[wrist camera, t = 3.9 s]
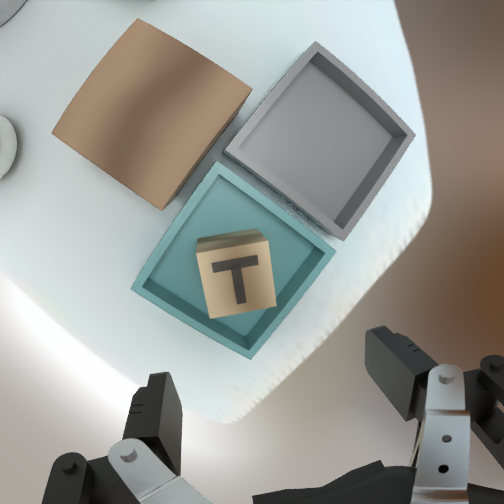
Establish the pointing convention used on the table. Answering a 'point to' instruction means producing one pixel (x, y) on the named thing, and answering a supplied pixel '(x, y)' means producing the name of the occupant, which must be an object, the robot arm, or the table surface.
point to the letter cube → (236, 272)
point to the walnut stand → (151, 112)
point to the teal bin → (220, 222)
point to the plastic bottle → (7, 145)
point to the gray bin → (323, 141)
